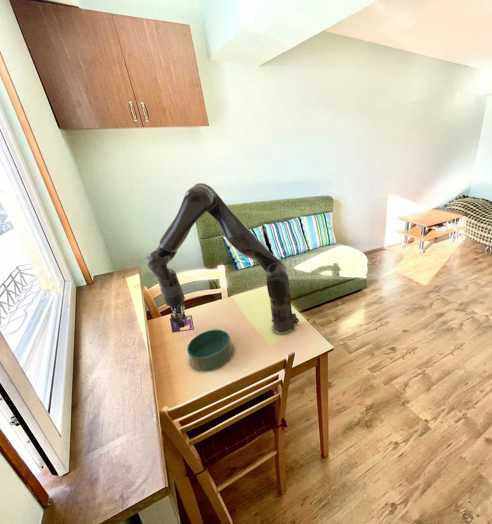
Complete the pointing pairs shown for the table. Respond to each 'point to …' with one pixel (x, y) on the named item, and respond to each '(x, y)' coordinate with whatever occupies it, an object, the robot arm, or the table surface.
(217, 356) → the bowl
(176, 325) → the game card
